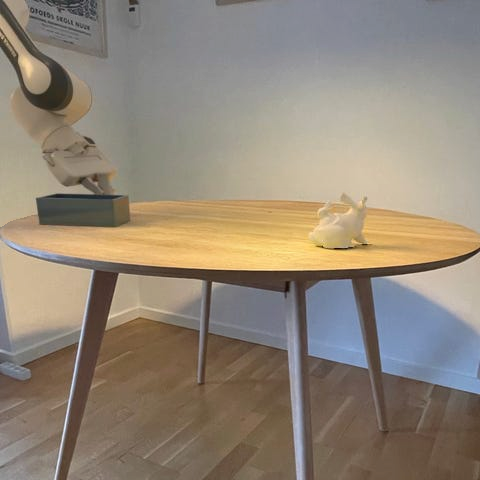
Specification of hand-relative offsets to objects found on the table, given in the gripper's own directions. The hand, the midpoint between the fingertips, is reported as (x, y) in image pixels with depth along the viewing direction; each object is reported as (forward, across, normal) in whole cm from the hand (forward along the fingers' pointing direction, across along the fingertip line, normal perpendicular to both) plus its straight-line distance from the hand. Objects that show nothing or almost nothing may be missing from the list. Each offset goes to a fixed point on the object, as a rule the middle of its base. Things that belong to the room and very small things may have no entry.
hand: (107, 193), depth 111 cm
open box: (+4, -10, +4) cm, 11 cm away
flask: (+3, 0, +4) cm, 5 cm away
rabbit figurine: (+44, -17, -37) cm, 60 cm away
